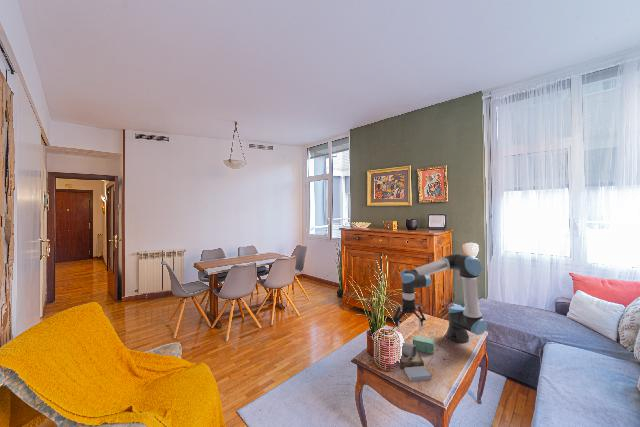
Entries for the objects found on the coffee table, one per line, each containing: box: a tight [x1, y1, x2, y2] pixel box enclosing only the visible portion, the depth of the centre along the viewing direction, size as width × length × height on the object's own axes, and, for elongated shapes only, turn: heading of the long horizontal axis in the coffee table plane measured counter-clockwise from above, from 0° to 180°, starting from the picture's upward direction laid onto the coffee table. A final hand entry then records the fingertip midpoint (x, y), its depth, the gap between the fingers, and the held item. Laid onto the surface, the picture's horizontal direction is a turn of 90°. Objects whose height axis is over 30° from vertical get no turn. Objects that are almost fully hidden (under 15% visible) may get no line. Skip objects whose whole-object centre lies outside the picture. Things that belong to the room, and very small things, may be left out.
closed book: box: [403, 365, 432, 382], centre depth 158 cm, size 12×9×2 cm
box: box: [412, 335, 435, 355], centre depth 186 cm, size 7×14×8 cm, turn 63°
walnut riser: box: [399, 351, 425, 370], centre depth 171 cm, size 14×14×4 cm
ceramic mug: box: [401, 342, 418, 360], centre depth 170 cm, size 11×8×8 cm
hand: (409, 331), depth 171 cm, fingers open, 13 cm apart
